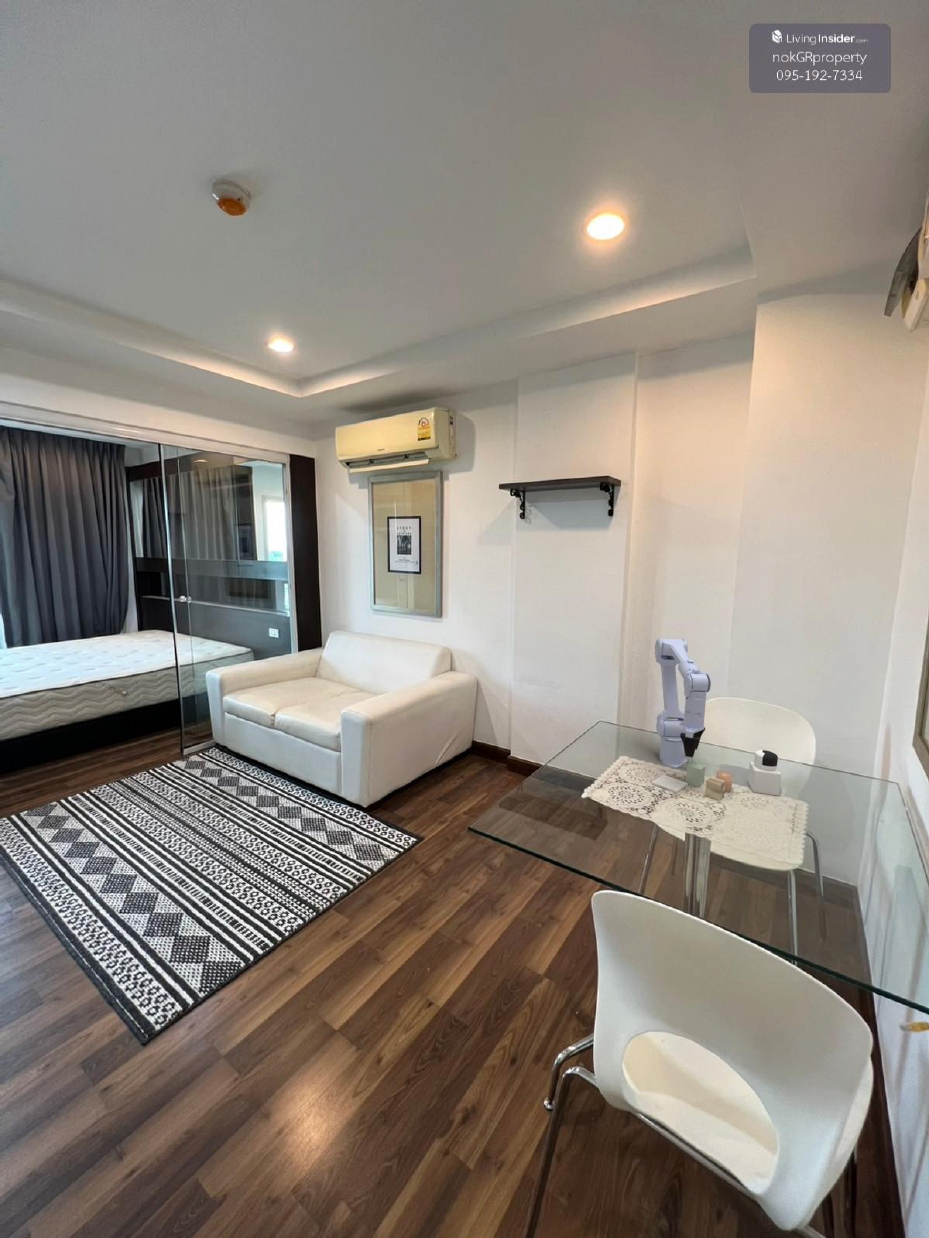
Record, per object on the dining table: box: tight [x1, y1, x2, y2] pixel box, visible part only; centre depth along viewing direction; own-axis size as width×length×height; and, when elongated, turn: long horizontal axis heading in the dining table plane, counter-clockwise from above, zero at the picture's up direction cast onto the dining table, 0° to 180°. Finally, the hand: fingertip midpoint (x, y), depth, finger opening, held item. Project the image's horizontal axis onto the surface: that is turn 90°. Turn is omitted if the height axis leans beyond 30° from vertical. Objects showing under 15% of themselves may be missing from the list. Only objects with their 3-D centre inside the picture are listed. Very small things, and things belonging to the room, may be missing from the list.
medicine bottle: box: [747, 749, 782, 797], centre depth 150 cm, size 7×7×12 cm
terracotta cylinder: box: [715, 770, 734, 793], centre depth 150 cm, size 4×4×5 cm
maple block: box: [704, 776, 726, 802], centre depth 146 cm, size 4×4×5 cm
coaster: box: [651, 774, 689, 794], centre depth 153 cm, size 8×8×1 cm
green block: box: [685, 761, 706, 788], centre depth 154 cm, size 4×4×6 cm
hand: (691, 752), depth 153 cm, fingers open, 7 cm apart
